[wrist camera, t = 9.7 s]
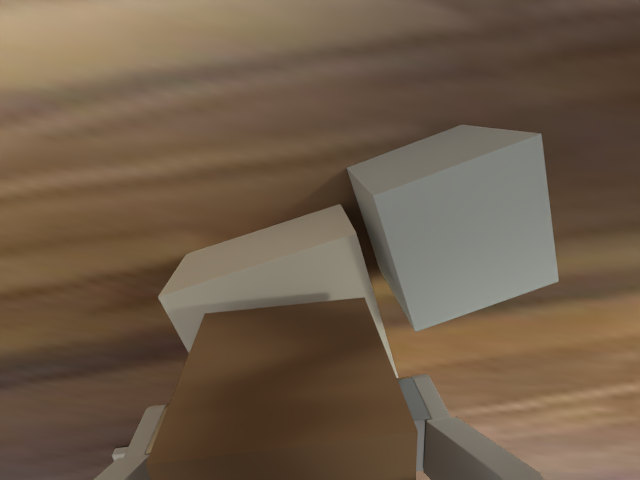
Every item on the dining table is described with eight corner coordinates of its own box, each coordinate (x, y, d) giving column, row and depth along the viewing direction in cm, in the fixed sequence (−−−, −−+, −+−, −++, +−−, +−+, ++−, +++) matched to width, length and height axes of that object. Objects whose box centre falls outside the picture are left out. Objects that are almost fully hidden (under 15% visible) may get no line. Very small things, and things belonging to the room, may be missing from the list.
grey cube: (460, 124, 15) (541, 133, 10) (482, 231, 17) (558, 281, 12) (345, 167, 15) (373, 195, 10) (379, 268, 17) (415, 331, 12)
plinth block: (339, 202, 16) (356, 233, 12) (377, 330, 18) (401, 388, 14) (187, 251, 16) (157, 297, 12) (246, 371, 18) (236, 439, 15)
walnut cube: (364, 297, 11) (418, 430, 7) (367, 416, 13) (410, 586, 9) (204, 313, 11) (146, 464, 6) (229, 433, 13) (197, 618, 8)
